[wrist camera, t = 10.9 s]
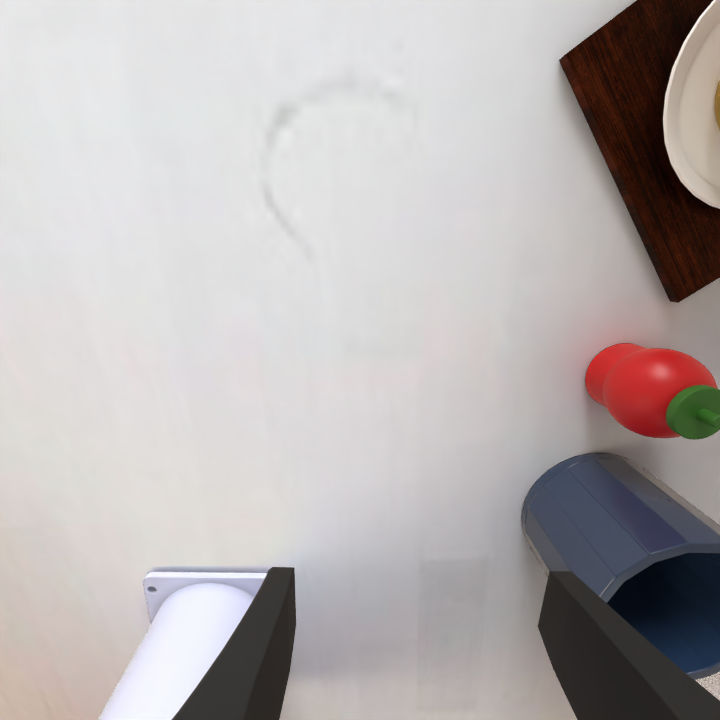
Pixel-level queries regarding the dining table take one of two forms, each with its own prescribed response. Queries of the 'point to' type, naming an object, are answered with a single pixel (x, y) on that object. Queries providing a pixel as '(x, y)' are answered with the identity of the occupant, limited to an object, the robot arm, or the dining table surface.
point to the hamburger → (660, 128)
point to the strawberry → (655, 391)
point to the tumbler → (633, 552)
